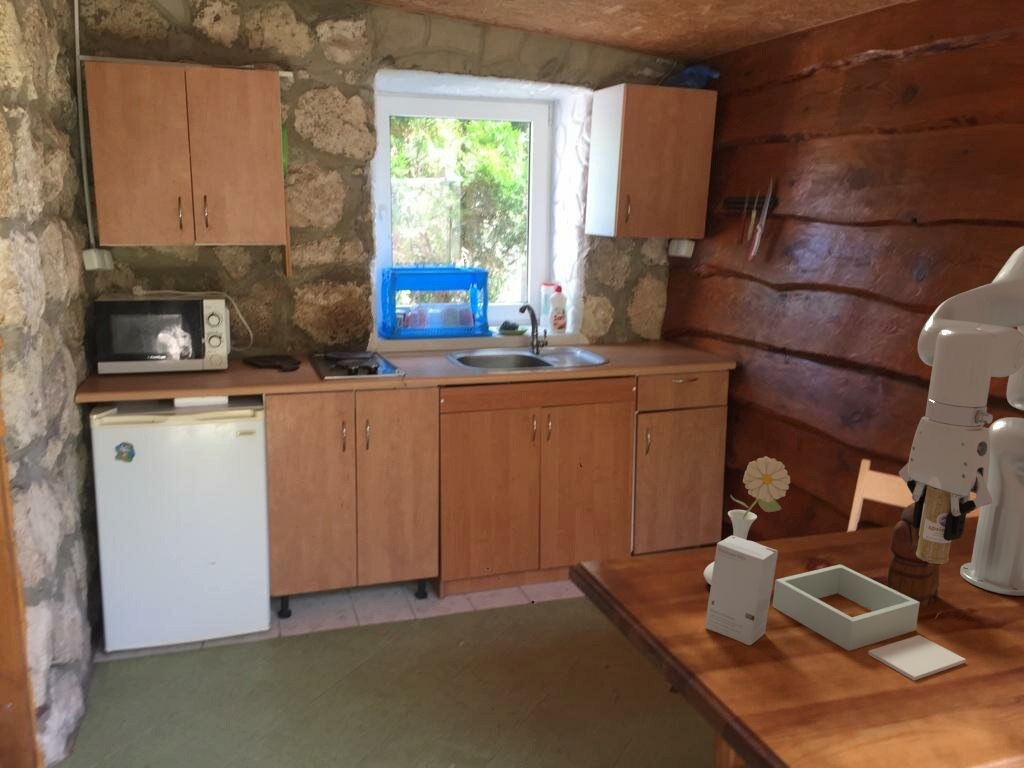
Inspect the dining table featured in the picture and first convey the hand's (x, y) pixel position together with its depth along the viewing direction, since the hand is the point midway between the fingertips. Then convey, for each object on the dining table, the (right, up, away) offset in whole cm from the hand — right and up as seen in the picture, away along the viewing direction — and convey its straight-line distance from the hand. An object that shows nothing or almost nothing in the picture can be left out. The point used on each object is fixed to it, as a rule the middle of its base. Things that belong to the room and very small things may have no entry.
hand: (936, 531), depth 124 cm
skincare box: (-27, -18, +10) cm, 34 cm away
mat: (-1, -20, +4) cm, 21 cm away
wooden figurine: (+8, -17, +25) cm, 31 cm away
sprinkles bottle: (0, -4, +1) cm, 5 cm away
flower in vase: (-22, -15, +26) cm, 37 cm away
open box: (-8, -17, +16) cm, 25 cm away
